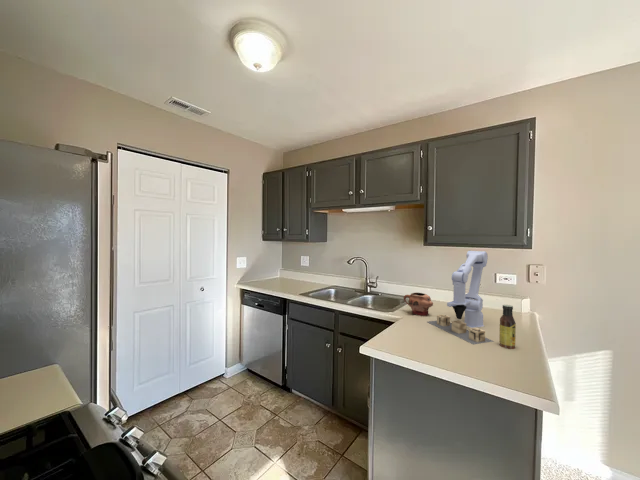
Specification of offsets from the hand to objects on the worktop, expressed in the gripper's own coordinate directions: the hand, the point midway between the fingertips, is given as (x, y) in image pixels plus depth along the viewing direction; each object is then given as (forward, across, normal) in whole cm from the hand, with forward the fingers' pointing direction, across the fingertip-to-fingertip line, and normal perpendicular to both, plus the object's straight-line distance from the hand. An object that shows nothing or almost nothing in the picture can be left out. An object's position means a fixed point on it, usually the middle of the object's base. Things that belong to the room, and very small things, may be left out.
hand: (459, 318), depth 145 cm
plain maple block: (+7, 0, 0) cm, 7 cm away
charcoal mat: (+8, 0, +2) cm, 8 cm away
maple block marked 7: (+7, 0, -12) cm, 13 cm away
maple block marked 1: (+7, 0, +12) cm, 14 cm away
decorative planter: (+8, -1, +34) cm, 35 cm away
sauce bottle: (+8, +7, -22) cm, 24 cm away
